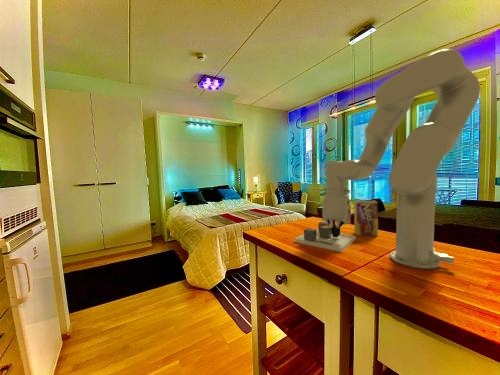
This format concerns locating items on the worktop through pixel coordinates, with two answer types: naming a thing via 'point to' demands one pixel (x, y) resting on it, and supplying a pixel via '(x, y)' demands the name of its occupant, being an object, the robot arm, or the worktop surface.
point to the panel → (328, 241)
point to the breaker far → (323, 224)
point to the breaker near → (310, 234)
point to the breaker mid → (325, 232)
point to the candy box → (366, 217)
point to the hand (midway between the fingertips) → (335, 236)
